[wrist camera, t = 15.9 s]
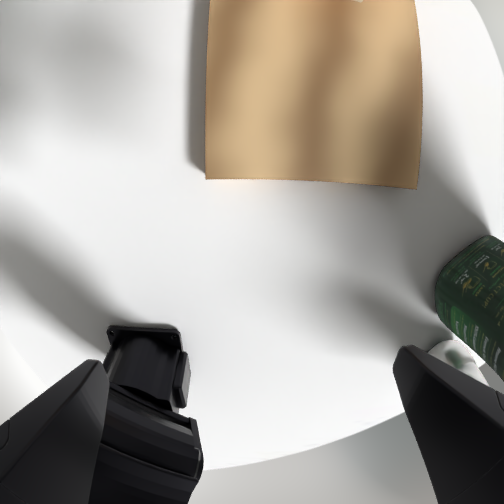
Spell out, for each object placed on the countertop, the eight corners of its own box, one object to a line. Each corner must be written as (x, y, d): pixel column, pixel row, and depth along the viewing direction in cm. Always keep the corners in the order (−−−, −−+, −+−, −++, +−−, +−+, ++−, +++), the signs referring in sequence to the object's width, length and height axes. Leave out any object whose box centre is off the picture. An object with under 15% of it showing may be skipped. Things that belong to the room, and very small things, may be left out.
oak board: (207, 175, 18) (205, 179, 16) (220, -81, 9) (219, -91, 8) (405, 185, 18) (416, 189, 17) (392, -53, 10) (399, -59, 9)
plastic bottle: (448, 322, 24) (550, 460, 6) (462, 346, 26) (544, 462, 8) (404, 363, 26) (484, 514, 8) (424, 381, 28) (491, 506, 10)
